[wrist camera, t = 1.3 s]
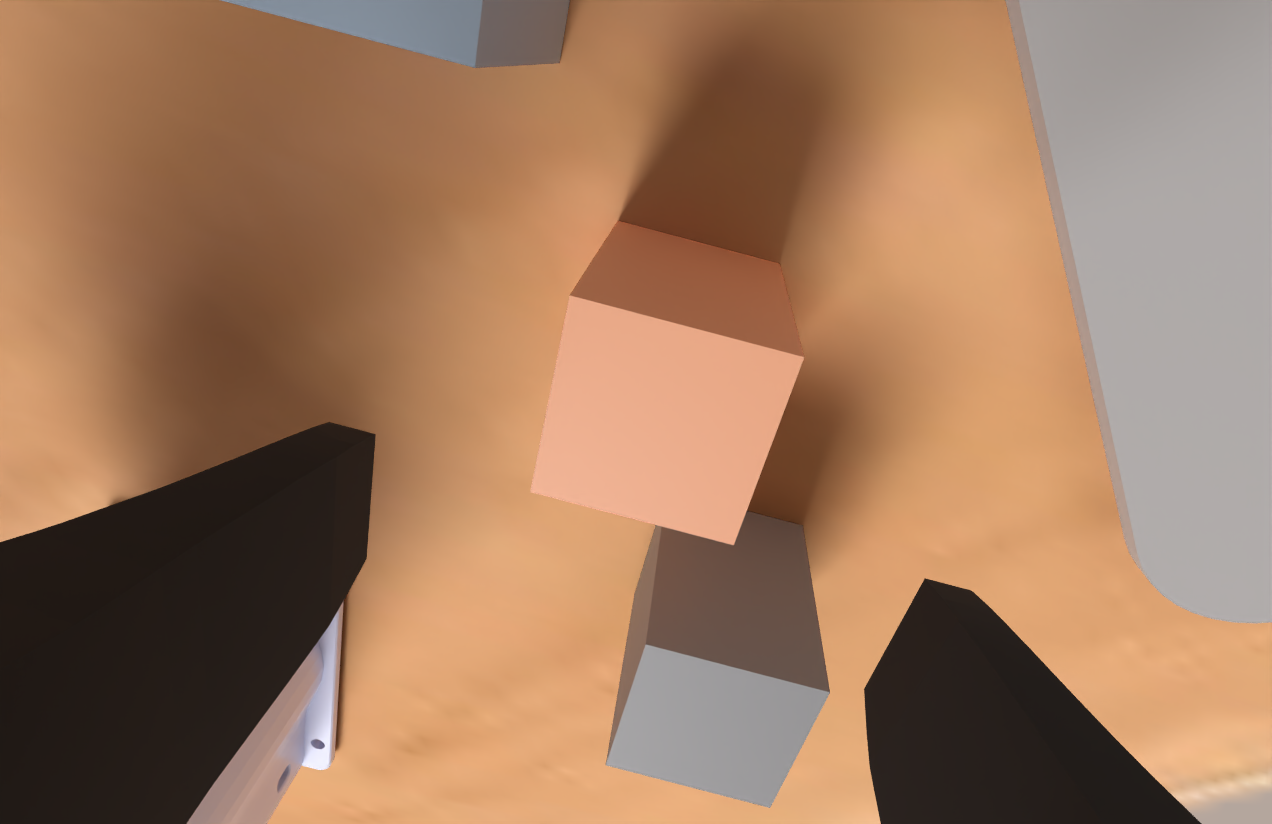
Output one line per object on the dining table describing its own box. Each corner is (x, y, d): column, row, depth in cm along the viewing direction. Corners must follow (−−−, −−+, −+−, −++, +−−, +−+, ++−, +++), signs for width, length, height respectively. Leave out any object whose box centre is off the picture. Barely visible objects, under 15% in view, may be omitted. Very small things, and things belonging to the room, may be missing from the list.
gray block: (759, 626, 22) (770, 807, 17) (634, 594, 22) (605, 765, 17) (802, 524, 20) (829, 692, 15) (666, 489, 20) (646, 643, 15)
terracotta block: (731, 407, 19) (733, 545, 14) (585, 368, 19) (530, 492, 14) (779, 263, 17) (804, 357, 12) (618, 220, 17) (569, 295, 12)
